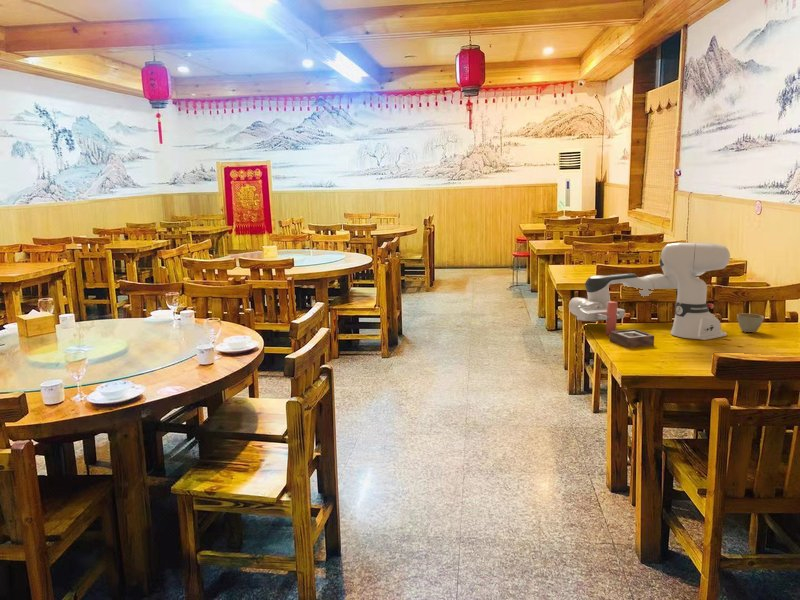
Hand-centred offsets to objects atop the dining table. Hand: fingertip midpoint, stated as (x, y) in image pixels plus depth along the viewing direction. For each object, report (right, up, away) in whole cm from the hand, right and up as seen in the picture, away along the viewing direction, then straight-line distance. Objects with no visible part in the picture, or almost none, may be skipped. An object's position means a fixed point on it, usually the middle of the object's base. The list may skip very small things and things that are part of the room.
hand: (612, 317), depth 267 cm
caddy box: (+3, -10, -12) cm, 16 cm away
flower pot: (+60, -6, +4) cm, 60 cm away
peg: (0, -7, +2) cm, 8 cm away
